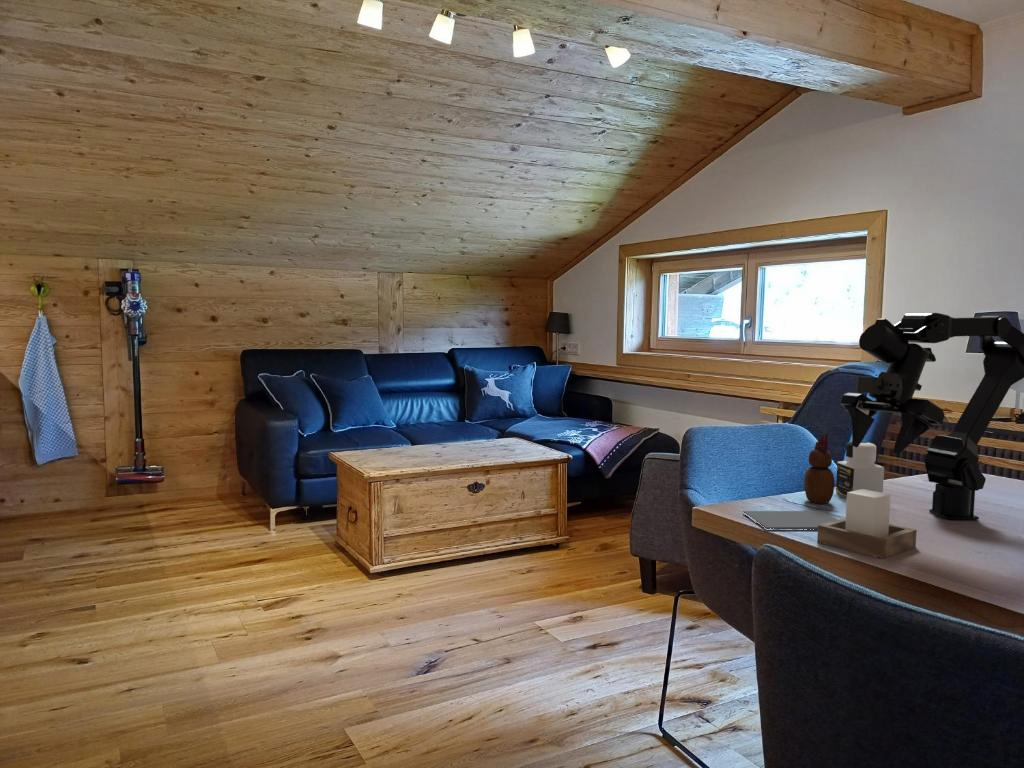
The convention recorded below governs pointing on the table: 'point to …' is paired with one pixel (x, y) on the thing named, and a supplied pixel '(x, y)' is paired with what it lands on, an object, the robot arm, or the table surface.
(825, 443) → the wooden figurine
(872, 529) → the white block
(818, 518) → the slate mat
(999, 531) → the table surface
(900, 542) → the wooden tray
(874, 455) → the medicine bottle
